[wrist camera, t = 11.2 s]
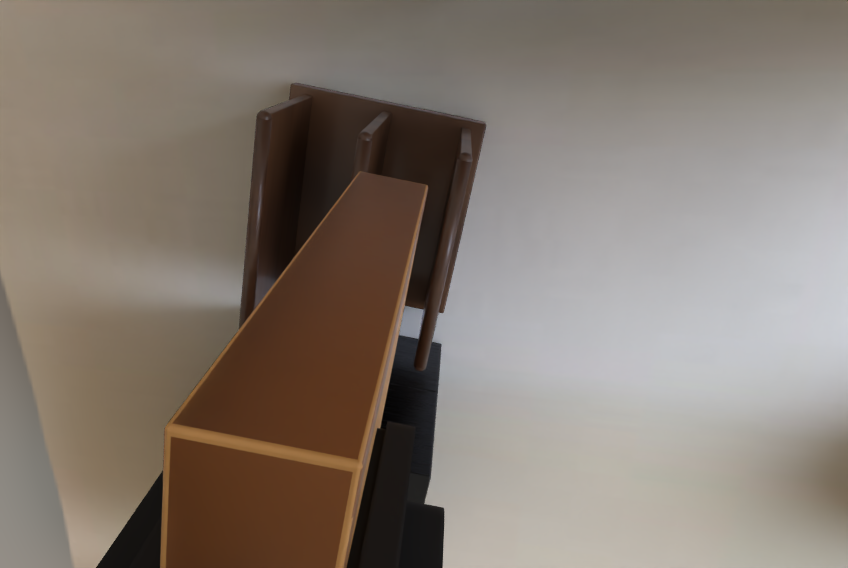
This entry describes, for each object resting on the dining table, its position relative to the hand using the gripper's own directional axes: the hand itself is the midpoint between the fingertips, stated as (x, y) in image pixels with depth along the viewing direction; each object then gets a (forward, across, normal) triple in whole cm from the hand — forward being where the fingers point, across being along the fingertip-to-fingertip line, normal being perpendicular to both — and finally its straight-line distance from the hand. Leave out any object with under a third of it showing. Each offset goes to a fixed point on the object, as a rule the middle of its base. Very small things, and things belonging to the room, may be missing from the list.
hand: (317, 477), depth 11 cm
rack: (+18, +2, 0) cm, 18 cm away
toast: (+6, 0, 0) cm, 6 cm away
